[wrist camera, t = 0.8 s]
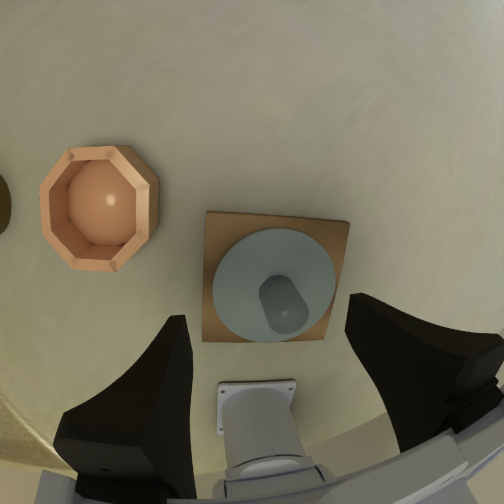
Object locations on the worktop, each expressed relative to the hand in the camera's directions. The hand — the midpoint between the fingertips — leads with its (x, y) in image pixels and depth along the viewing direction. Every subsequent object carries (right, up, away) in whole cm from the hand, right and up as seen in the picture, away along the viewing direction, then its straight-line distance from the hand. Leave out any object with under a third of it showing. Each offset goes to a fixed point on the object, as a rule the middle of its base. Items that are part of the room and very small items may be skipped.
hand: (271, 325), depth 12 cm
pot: (-11, +7, +7) cm, 15 cm away
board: (+1, +1, +11) cm, 11 cm away
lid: (+1, 0, +11) cm, 11 cm away
